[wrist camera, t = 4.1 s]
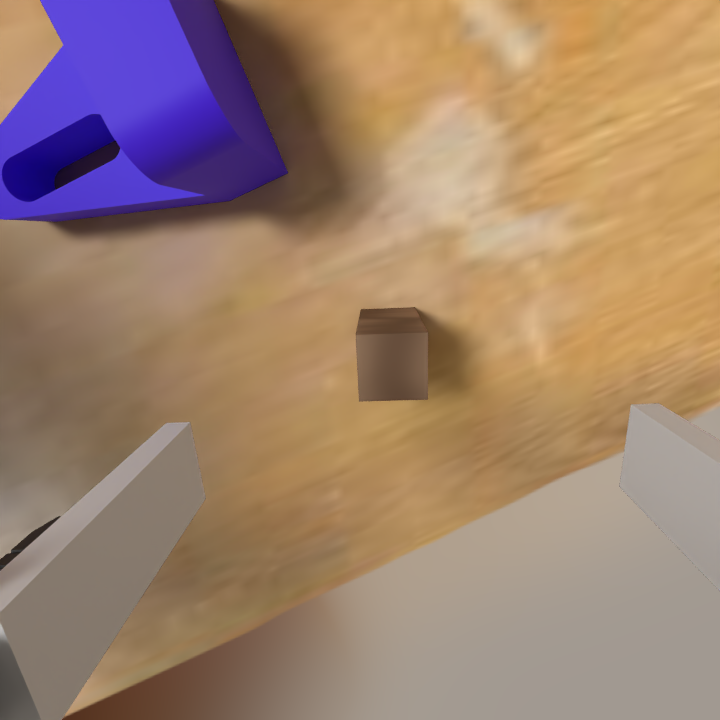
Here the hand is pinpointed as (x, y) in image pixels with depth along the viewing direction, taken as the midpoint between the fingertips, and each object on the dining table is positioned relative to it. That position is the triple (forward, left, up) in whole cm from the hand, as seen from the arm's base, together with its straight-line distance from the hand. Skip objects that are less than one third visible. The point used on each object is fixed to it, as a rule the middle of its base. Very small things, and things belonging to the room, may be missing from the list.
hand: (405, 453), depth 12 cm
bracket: (-17, +13, -19) cm, 29 cm away
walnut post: (0, -1, -19) cm, 19 cm away
